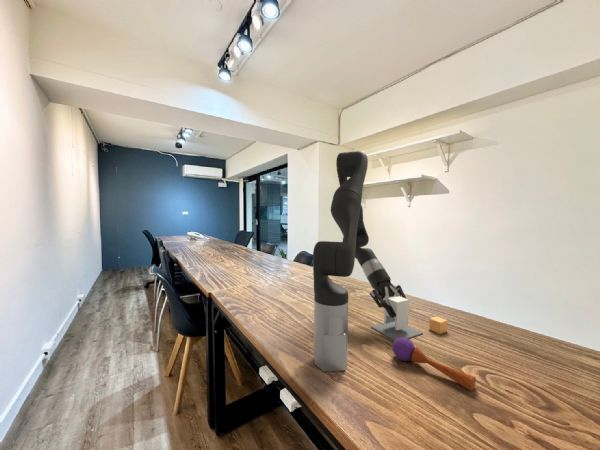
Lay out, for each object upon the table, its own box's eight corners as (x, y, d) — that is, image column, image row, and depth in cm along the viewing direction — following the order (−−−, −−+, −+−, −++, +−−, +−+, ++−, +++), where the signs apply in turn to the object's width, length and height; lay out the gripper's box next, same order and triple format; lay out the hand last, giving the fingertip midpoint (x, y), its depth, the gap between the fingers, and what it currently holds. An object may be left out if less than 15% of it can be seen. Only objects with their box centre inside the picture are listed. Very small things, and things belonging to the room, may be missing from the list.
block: (447, 331, 90) (447, 320, 89) (440, 334, 88) (440, 322, 88) (436, 327, 93) (436, 316, 93) (429, 329, 91) (429, 318, 91)
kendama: (469, 381, 57) (388, 340, 72) (468, 402, 59) (388, 358, 74) (478, 366, 61) (399, 330, 76) (476, 387, 62) (399, 347, 77)
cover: (408, 326, 89) (408, 299, 88) (396, 330, 86) (397, 302, 86) (395, 320, 94) (395, 295, 93) (384, 323, 91) (384, 297, 90)
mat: (422, 334, 88) (422, 332, 87) (398, 342, 82) (398, 341, 82) (394, 320, 98) (394, 319, 98) (370, 327, 92) (370, 326, 92)
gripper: (366, 269, 92) (392, 314, 82) (394, 266, 99) (421, 306, 89) (356, 281, 97) (379, 324, 87) (383, 276, 104) (408, 316, 94)
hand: (400, 315), depth 88 cm, fingers closed on cover, 5 cm apart
